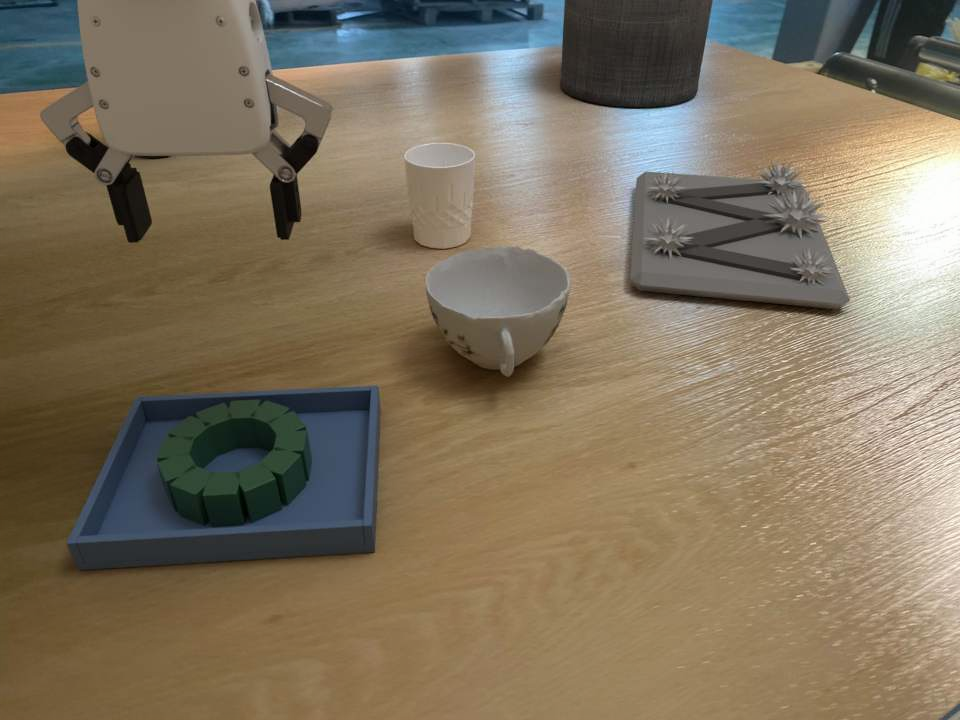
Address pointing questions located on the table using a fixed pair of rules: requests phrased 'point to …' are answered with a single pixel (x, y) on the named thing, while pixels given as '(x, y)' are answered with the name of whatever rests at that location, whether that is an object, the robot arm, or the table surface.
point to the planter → (633, 50)
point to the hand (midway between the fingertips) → (214, 232)
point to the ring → (243, 490)
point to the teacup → (497, 303)
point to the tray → (287, 533)
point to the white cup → (440, 193)
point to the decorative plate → (733, 239)
